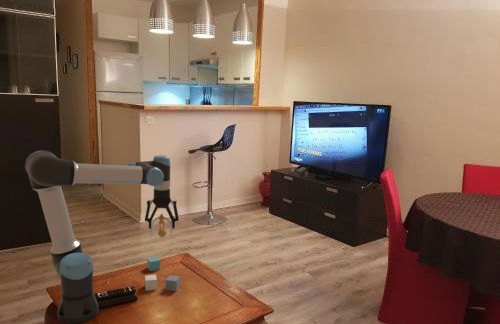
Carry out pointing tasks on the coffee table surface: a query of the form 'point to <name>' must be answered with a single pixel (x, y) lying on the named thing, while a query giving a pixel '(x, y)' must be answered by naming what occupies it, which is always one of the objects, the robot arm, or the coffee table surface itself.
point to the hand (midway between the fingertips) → (161, 234)
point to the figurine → (162, 231)
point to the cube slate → (172, 283)
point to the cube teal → (153, 263)
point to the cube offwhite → (150, 282)
